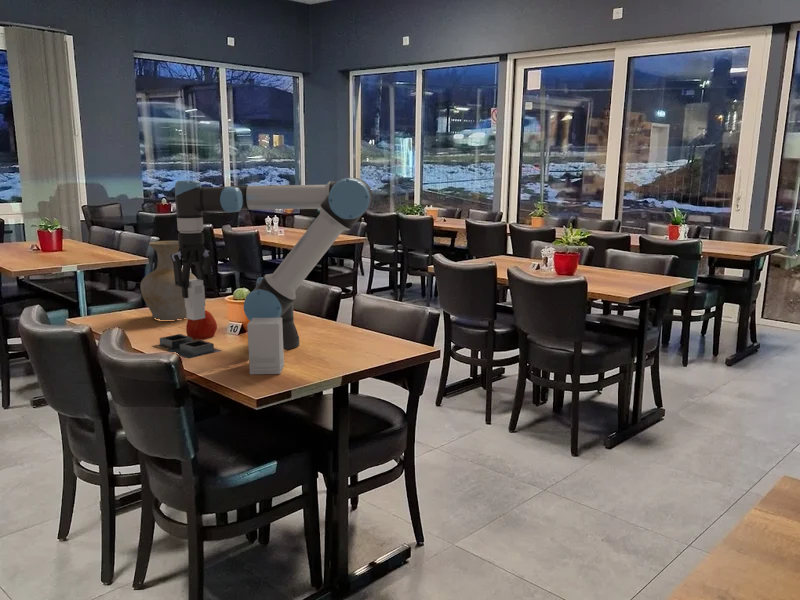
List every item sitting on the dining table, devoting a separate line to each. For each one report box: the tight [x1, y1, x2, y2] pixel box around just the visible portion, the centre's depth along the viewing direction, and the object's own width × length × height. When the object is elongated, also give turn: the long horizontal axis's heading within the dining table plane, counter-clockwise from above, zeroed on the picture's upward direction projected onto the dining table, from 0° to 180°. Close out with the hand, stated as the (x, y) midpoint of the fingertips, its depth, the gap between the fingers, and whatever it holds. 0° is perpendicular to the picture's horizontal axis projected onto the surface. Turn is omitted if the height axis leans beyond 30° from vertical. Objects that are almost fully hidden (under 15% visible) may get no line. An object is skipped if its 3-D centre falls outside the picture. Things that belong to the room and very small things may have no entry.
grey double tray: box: [151, 333, 223, 359], centre depth 213 cm, size 22×12×4 cm, turn 49°
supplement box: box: [246, 318, 285, 375], centre depth 193 cm, size 9×9×15 cm
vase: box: [139, 240, 198, 320], centre depth 261 cm, size 22×22×30 cm
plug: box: [186, 278, 206, 320], centre depth 206 cm, size 5×4×12 cm
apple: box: [185, 310, 218, 340], centre depth 229 cm, size 10×10×10 cm
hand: (195, 306), depth 207 cm, fingers closed on plug, 4 cm apart
